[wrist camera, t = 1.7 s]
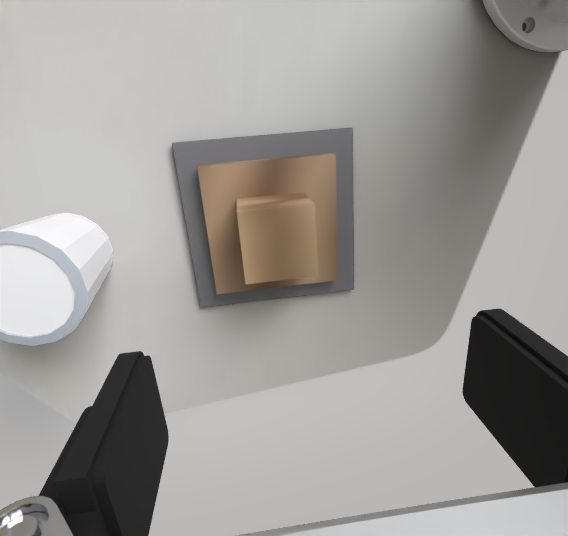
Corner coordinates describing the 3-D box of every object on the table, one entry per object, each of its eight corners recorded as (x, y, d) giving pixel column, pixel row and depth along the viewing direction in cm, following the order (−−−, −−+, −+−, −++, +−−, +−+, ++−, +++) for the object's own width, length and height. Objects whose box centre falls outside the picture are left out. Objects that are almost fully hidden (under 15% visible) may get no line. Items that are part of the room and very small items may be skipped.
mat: (350, 127, 26) (352, 127, 26) (351, 286, 31) (353, 289, 30) (173, 142, 25) (171, 143, 25) (201, 304, 30) (200, 307, 29)
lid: (331, 153, 26) (352, 160, 21) (334, 274, 29) (354, 304, 25) (199, 164, 25) (190, 175, 21) (217, 287, 29) (213, 321, 24)
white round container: (32, 186, 25) (-38, 209, 19) (135, 227, 27) (103, 261, 21) (8, 274, 27) (-63, 323, 21) (106, 308, 29) (67, 362, 22)
